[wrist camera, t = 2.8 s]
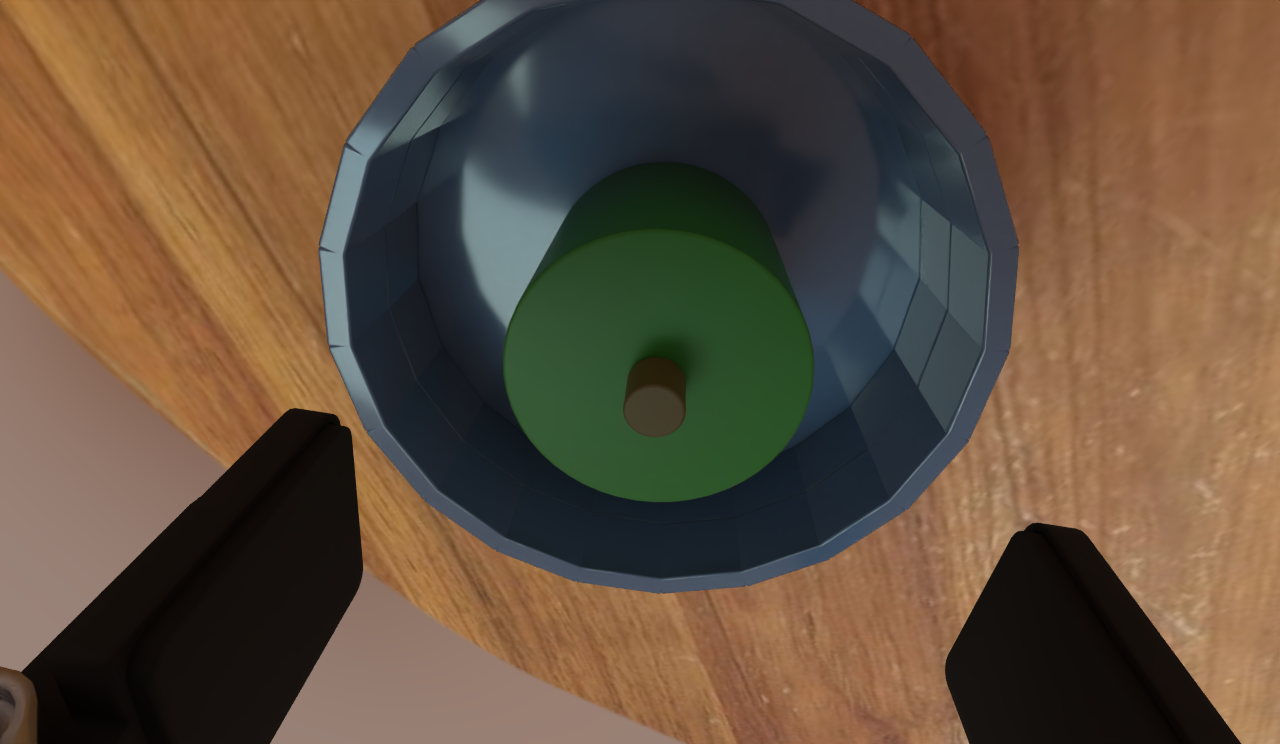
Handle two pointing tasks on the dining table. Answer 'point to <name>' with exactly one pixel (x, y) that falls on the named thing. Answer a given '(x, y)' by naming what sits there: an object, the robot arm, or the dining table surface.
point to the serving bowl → (723, 144)
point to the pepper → (660, 339)
